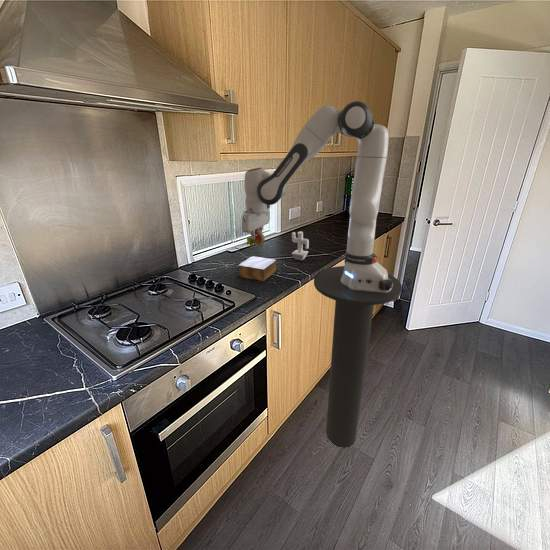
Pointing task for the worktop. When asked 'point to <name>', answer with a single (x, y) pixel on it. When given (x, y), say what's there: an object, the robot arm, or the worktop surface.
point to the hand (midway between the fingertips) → (256, 237)
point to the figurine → (300, 246)
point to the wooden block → (257, 268)
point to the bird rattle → (258, 240)
